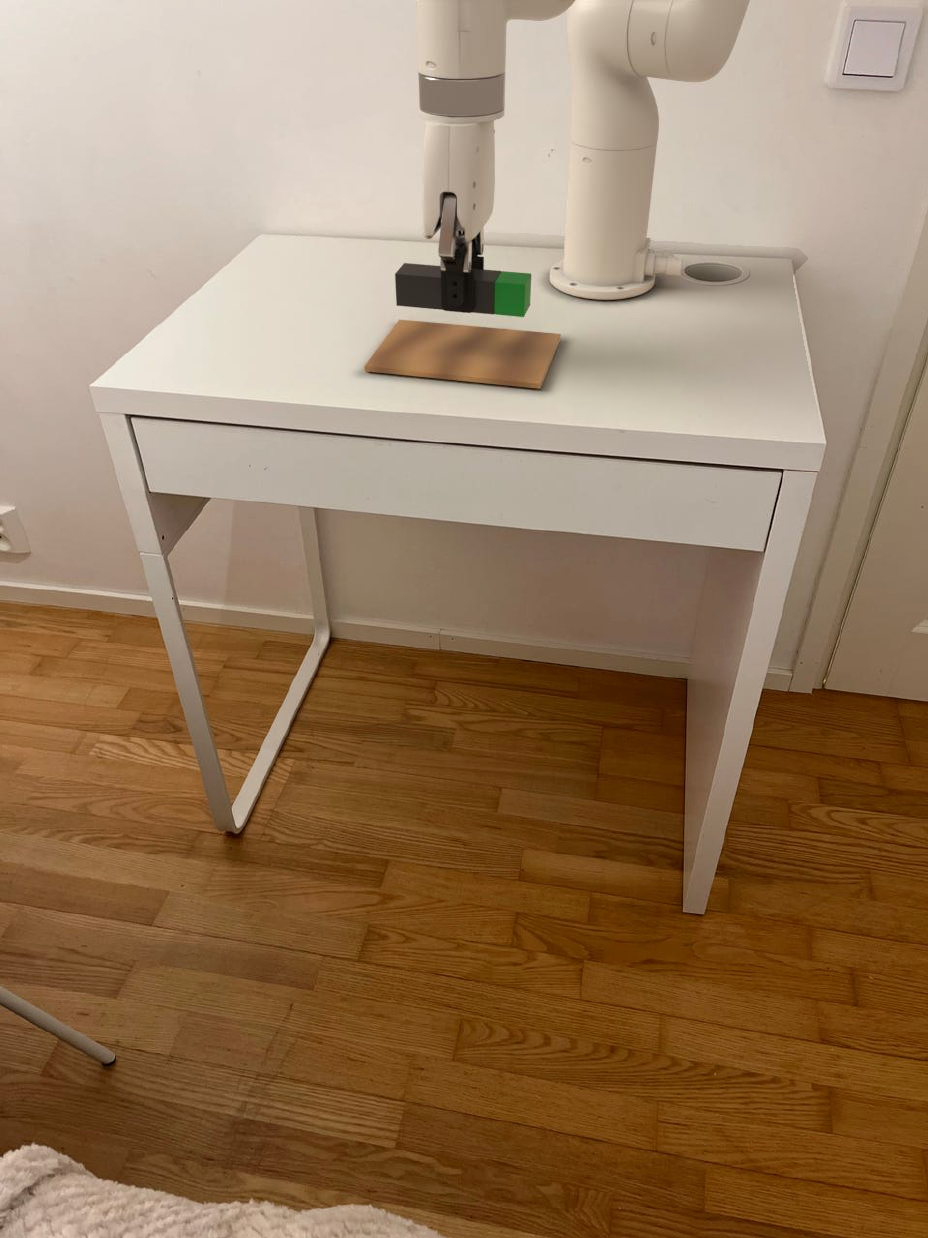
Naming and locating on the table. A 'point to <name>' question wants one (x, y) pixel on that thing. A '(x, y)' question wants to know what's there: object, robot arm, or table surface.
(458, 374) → the wooden board
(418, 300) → the marker
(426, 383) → the table surface
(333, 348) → the table surface
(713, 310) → the table surface
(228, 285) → the table surface
